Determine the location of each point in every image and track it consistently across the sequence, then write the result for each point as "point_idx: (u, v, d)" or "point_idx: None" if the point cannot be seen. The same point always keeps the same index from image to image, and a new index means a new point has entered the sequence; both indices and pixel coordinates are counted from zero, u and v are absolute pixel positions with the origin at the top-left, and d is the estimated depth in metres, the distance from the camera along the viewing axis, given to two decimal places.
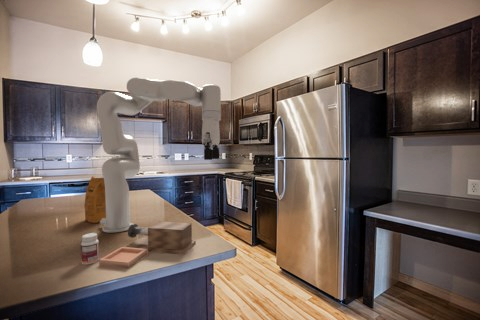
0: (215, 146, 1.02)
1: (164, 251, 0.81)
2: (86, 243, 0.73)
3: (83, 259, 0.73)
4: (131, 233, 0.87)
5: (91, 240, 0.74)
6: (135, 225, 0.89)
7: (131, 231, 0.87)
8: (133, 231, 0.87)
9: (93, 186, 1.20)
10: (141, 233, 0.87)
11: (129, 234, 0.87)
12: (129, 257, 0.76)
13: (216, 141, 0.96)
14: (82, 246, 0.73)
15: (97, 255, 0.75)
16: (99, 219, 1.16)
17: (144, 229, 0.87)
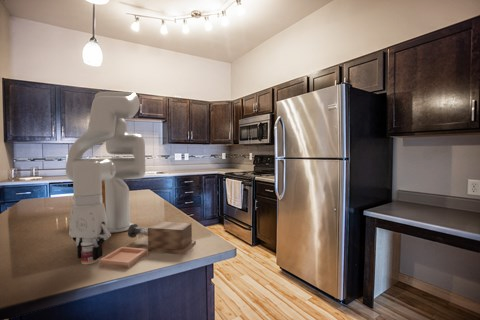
0: None
1: (164, 251, 0.81)
2: (86, 243, 0.73)
3: (83, 259, 0.73)
4: (131, 233, 0.87)
5: (91, 240, 0.74)
6: (135, 225, 0.89)
7: (131, 231, 0.87)
8: (133, 231, 0.87)
9: None
10: (141, 233, 0.87)
11: (129, 234, 0.87)
12: (129, 257, 0.76)
13: None
14: (82, 246, 0.73)
15: None
16: None
17: (144, 229, 0.87)
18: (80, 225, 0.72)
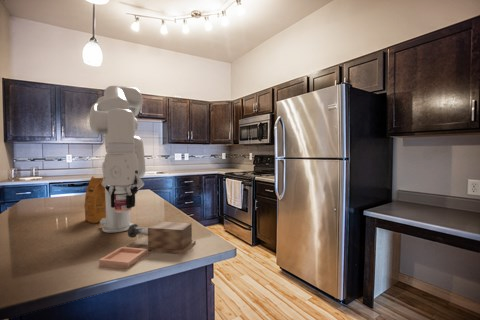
0: None
1: (164, 251, 0.81)
2: (120, 191, 0.73)
3: (117, 207, 0.73)
4: (131, 233, 0.87)
5: (124, 189, 0.74)
6: (135, 225, 0.89)
7: (131, 231, 0.87)
8: (133, 231, 0.87)
9: (93, 186, 1.20)
10: (141, 233, 0.87)
11: (129, 234, 0.87)
12: (129, 257, 0.76)
13: None
14: (116, 194, 0.73)
15: None
16: (99, 219, 1.16)
17: (144, 229, 0.87)
18: (114, 173, 0.73)
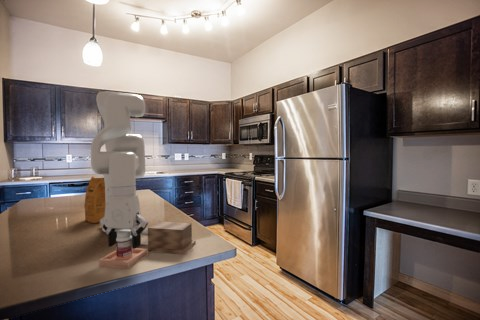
0: None
1: (164, 251, 0.81)
2: (122, 239, 0.74)
3: (118, 255, 0.74)
4: (131, 233, 0.87)
5: (126, 236, 0.75)
6: None
7: (131, 231, 0.87)
8: None
9: (93, 186, 1.20)
10: (141, 233, 0.87)
11: None
12: None
13: None
14: (117, 242, 0.74)
15: (131, 251, 0.76)
16: (99, 219, 1.16)
17: (144, 229, 0.87)
18: (116, 216, 0.73)
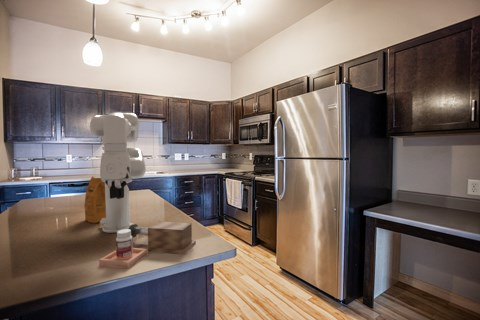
0: None
1: (164, 251, 0.81)
2: (122, 239, 0.74)
3: (118, 255, 0.74)
4: (131, 233, 0.87)
5: (126, 236, 0.75)
6: (135, 225, 0.89)
7: (131, 231, 0.87)
8: (133, 231, 0.87)
9: (93, 186, 1.20)
10: (141, 233, 0.87)
11: None
12: None
13: None
14: (117, 242, 0.74)
15: (131, 251, 0.76)
16: (99, 219, 1.16)
17: (144, 229, 0.87)
18: (109, 169, 0.87)
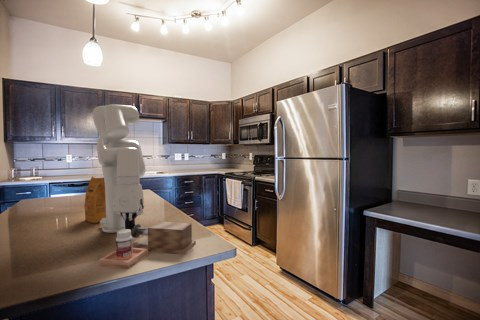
0: None
1: (164, 251, 0.81)
2: (122, 239, 0.74)
3: (118, 255, 0.74)
4: (134, 233, 0.87)
5: (126, 236, 0.75)
6: (138, 225, 0.89)
7: (134, 231, 0.87)
8: (136, 231, 0.87)
9: (93, 186, 1.20)
10: (144, 233, 0.86)
11: (132, 234, 0.86)
12: None
13: None
14: (117, 242, 0.74)
15: (131, 251, 0.76)
16: (99, 219, 1.16)
17: (147, 229, 0.87)
18: (123, 201, 0.86)
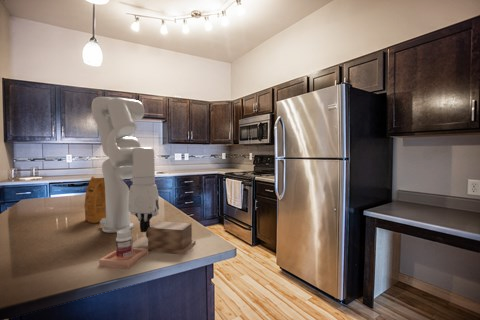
0: None
1: (164, 251, 0.81)
2: (122, 239, 0.74)
3: (118, 255, 0.74)
4: None
5: (126, 236, 0.75)
6: None
7: None
8: None
9: (93, 186, 1.20)
10: None
11: (147, 235, 0.85)
12: None
13: None
14: (117, 242, 0.74)
15: (131, 251, 0.76)
16: (99, 219, 1.16)
17: None
18: (138, 202, 0.85)
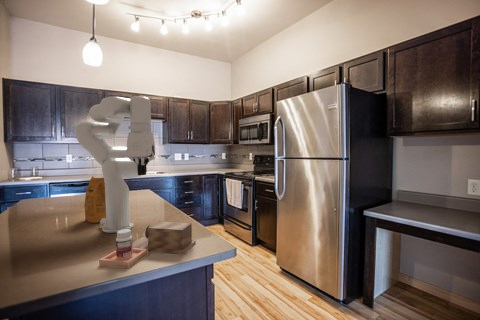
0: None
1: (164, 251, 0.81)
2: (122, 239, 0.74)
3: (118, 255, 0.74)
4: None
5: (126, 236, 0.75)
6: None
7: None
8: None
9: (93, 186, 1.20)
10: None
11: (146, 235, 0.85)
12: None
13: None
14: (117, 242, 0.74)
15: (131, 251, 0.76)
16: (99, 219, 1.16)
17: None
18: (136, 147, 0.92)
